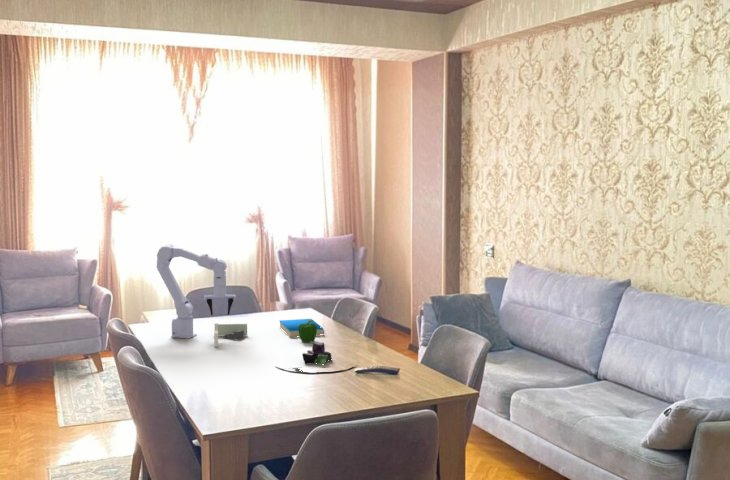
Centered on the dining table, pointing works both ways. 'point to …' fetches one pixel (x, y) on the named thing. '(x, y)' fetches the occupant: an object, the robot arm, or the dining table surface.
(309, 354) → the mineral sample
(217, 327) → the rectangular block
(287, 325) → the book
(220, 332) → the door
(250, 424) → the dining table surface
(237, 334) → the grey stepped block
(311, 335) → the bell pepper
